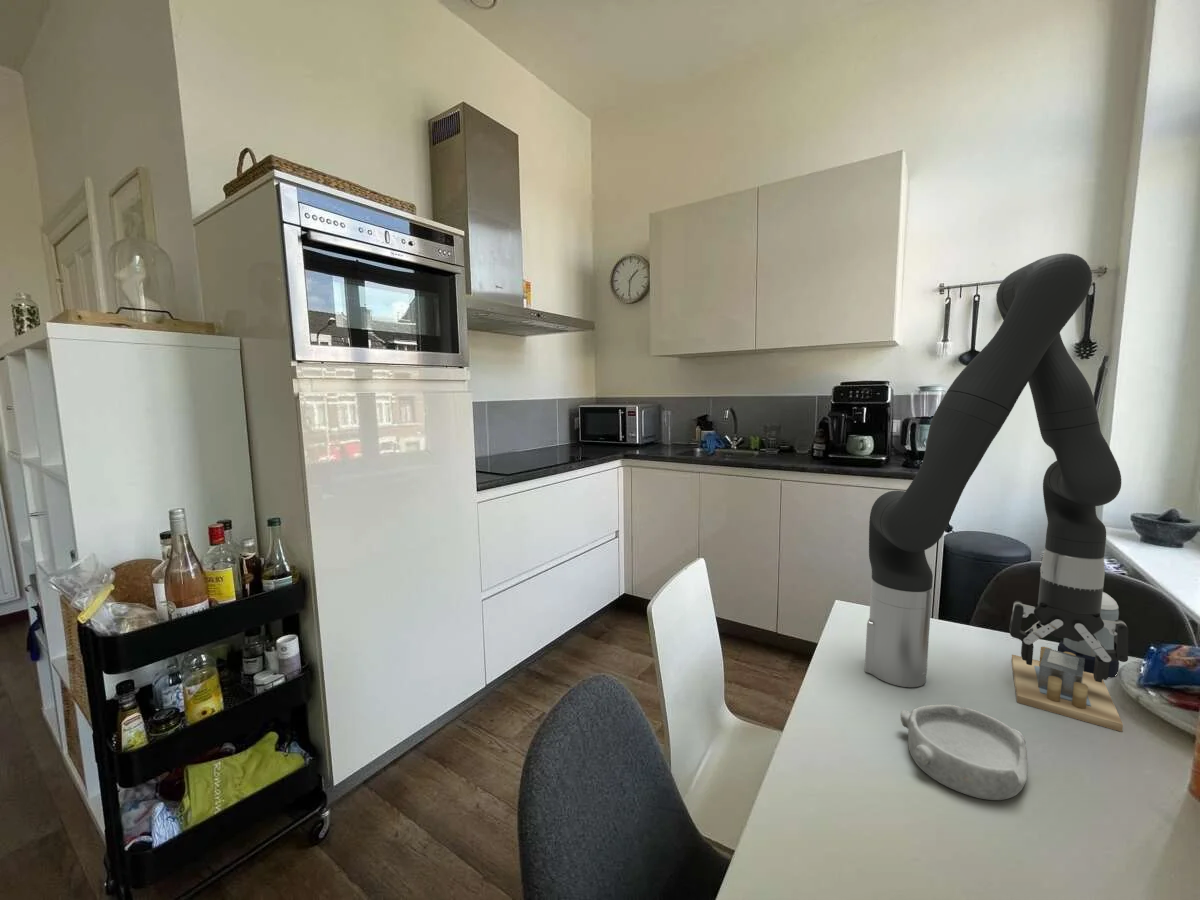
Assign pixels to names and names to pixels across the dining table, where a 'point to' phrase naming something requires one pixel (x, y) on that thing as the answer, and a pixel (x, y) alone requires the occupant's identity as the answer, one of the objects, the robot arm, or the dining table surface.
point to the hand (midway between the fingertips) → (1062, 671)
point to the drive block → (1061, 670)
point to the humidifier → (1105, 638)
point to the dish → (967, 750)
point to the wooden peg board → (1084, 705)
